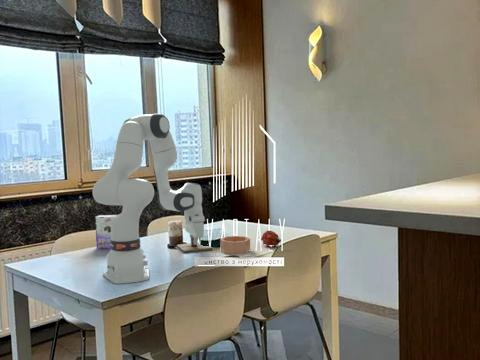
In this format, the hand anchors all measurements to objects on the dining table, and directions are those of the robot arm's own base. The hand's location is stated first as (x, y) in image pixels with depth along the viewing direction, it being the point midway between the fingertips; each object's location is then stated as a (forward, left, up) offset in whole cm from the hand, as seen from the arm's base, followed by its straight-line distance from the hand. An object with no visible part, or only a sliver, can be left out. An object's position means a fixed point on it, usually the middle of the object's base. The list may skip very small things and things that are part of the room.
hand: (194, 243), depth 241 cm
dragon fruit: (-10, -37, -3) cm, 38 cm away
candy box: (+22, +37, -3) cm, 43 cm away
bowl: (-12, -17, -3) cm, 21 cm away
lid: (0, 0, -3) cm, 3 cm away
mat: (0, 0, -3) cm, 3 cm away
